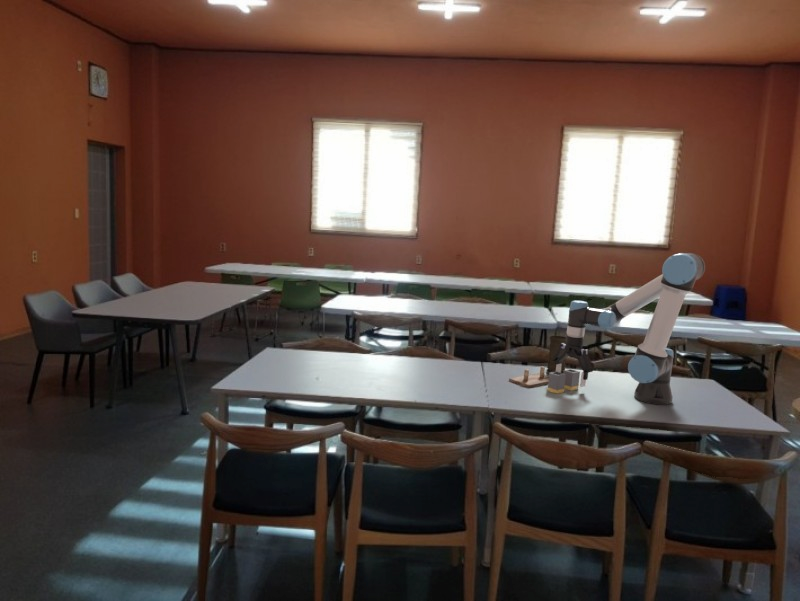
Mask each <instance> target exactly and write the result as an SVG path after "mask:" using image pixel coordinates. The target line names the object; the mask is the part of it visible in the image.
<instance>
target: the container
mask: <svg viewBox="0 0 800 601" xmlns="http://www.w3.org/2000/svg"><path fill="white" fill-rule="evenodd" d="M549 339H550V343H549V354H548V360H547V361H548V362H547V367H546V369H545V370H546V373H547V374H548V373H550V372H556V370H555V362H554V361H552V359H553V357H554V355H555V354H556V352H557V350H558V349H559V345H560V343H565V344H566V336H563V335H562V336H561V335H551V336H549ZM565 351H566V349H565V348H564V350H563V352H562V353H561V355H562V354H563V353H564V352H565ZM561 355H560V356H561ZM560 364H562V366H561V373H563V372H564V370H566V368H565V367H566V358H565V359H564V360H563V361H562V362H561V363H560Z"/></svg>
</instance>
